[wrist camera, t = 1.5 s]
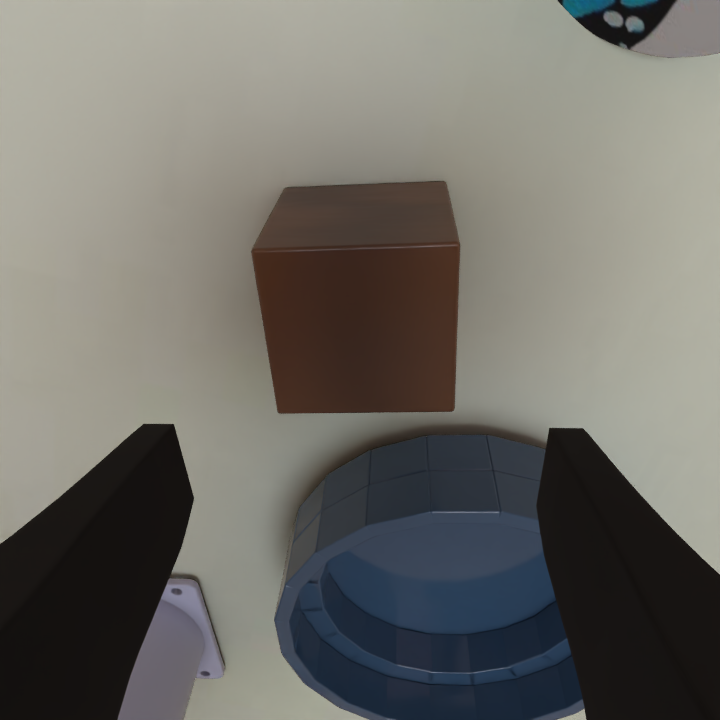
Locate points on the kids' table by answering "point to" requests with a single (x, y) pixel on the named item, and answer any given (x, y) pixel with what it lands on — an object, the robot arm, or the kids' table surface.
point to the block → (361, 298)
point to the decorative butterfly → (653, 24)
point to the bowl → (428, 586)
